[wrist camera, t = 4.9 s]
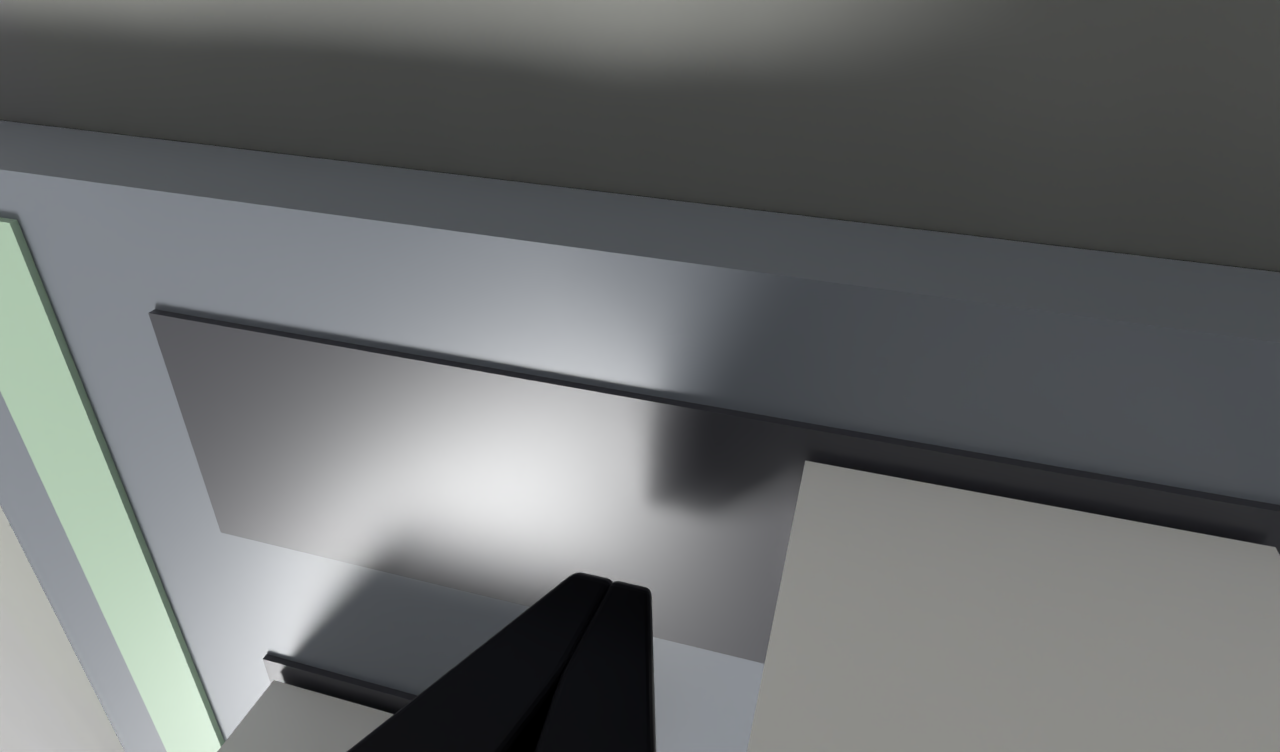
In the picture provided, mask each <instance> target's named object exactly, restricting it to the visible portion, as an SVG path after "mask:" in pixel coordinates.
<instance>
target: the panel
mask: <svg viewBox="0 0 1280 752" xmlns="http://www.w3.org/2000/svg"><path fill="white" fill-rule="evenodd" d="M805 461H810V462H816V463H821V464H827V465H832V466H838V467H843V468H848V469H854V470H859V471H865V472H870V473H875V474H881V475H886V476H892V477H897V478H903V479H908V480H913V481H919V482H924V483H930V484H935V485H941V486H946V487H951V488H957V489H962V490H968V491H973V492H979V493H984V494H989V495H995V496H1000V497H1006V498H1011V499H1017V500H1022V501H1027V502H1033V503H1038V504H1044V505H1049V506H1054V507H1060V508H1065V509H1071V510H1076V511H1082V512H1087V513H1092V514H1098V515H1103V516H1109V517H1114V518H1120V519H1125V520H1130V521H1136V522H1141V523H1147V524H1152V525H1158V526H1163V527H1168V528H1174V529H1179V530H1185V531H1190V532H1196V533H1201V534H1206V535H1212V536H1217V537H1223V538H1228V539H1233V540H1239V541H1244V542H1250V543H1255V544H1261V545H1266V546H1271V547H1276V549H1277V551H1278V553H1279V555H1280V272H1273V271H1264V270H1256V269H1247V268H1239V267H1230V266H1222V265H1214V264H1205V263H1197V262H1188V261H1180V260H1171V259H1163V258H1155V257H1146V256H1138V255H1129V254H1121V253H1113V252H1104V251H1096V250H1087V249H1079V248H1070V247H1062V246H1054V245H1045V244H1037V243H1028V242H1020V241H1011V240H1003V239H995V238H986V237H978V236H969V235H961V234H953V233H944V232H936V231H927V230H919V229H910V228H902V227H894V226H885V225H877V224H868V223H860V222H851V221H843V220H835V219H826V218H818V217H809V216H801V215H793V214H784V213H776V212H767V211H759V210H750V209H742V208H734V207H725V206H717V205H708V204H700V203H691V202H683V201H675V200H666V199H658V198H649V197H641V196H632V195H624V194H616V193H607V192H599V191H590V190H582V189H574V188H565V187H557V186H548V185H540V184H531V183H523V182H515V181H506V180H498V179H489V178H481V177H472V176H464V175H456V174H447V173H439V172H430V171H422V170H414V169H405V168H397V167H388V166H380V165H371V164H363V163H355V162H346V161H338V160H329V159H321V158H312V157H304V156H296V155H287V154H279V153H270V152H262V151H254V150H245V149H237V148H228V147H220V146H211V145H203V144H195V143H186V142H178V141H169V140H161V139H152V138H144V137H136V136H127V135H119V134H110V133H102V132H94V131H85V130H77V129H68V128H60V127H51V126H43V125H35V124H26V123H18V122H9V121H1V120H0V505H1V507H2V509H3V511H4V513H5V515H6V517H7V519H8V521H9V523H10V525H11V527H12V529H13V531H14V533H15V535H16V537H17V539H18V541H19V543H20V545H21V547H22V549H23V551H24V553H25V555H26V557H27V559H28V561H29V563H30V565H31V567H32V569H33V571H34V573H35V575H36V577H37V579H38V581H39V583H40V585H41V587H42V589H43V591H44V592H45V594H46V596H47V598H48V600H49V602H50V604H51V606H52V608H53V610H54V612H55V614H56V616H57V618H58V620H59V622H60V624H61V626H62V628H63V630H64V632H65V634H66V636H67V638H68V640H69V642H70V644H71V646H72V648H73V650H74V652H75V654H76V656H77V658H78V660H79V662H80V664H81V666H82V668H83V670H84V672H85V674H86V676H87V678H88V680H89V682H90V684H91V686H92V688H93V689H94V691H95V693H96V695H97V697H98V699H99V701H100V703H101V705H102V707H103V709H104V711H105V713H106V715H107V717H108V719H109V721H110V723H111V725H112V727H113V729H114V731H115V733H116V735H117V737H118V739H119V741H120V743H121V745H122V747H123V749H124V751H125V752H217V751H218V750H219V749H220V748H221V746H222V745H223V744H224V743H225V741H226V740H227V739H228V737H229V736H230V735H231V734H232V732H233V731H234V730H235V729H236V727H237V726H238V725H239V724H240V722H241V721H242V720H243V718H244V717H245V716H246V715H247V713H248V712H249V711H250V710H251V708H252V707H253V706H254V705H255V703H256V702H257V701H258V700H259V698H260V697H261V696H262V694H263V693H264V692H265V691H266V689H267V688H268V687H269V686H270V684H271V683H272V682H273V681H274V680H275V681H279V682H282V683H286V684H289V685H293V686H296V687H300V688H303V689H307V690H310V691H314V692H317V693H321V694H325V695H328V696H332V697H335V698H339V699H342V700H346V701H349V702H353V703H356V704H360V705H363V706H367V707H370V708H374V709H377V710H381V711H384V712H388V713H391V714H395V713H396V712H397V711H399V710H400V709H401V708H403V707H404V706H405V705H406V704H408V703H409V702H410V701H411V700H413V699H414V698H415V697H416V696H418V695H419V694H420V693H422V692H423V691H424V690H425V689H427V688H428V687H429V686H430V685H432V684H433V683H434V682H436V681H437V680H438V679H439V678H441V677H442V676H443V675H444V674H446V673H447V672H448V671H449V670H451V669H452V668H453V667H455V666H456V665H457V664H458V663H460V662H461V661H462V660H463V659H465V658H466V657H467V656H469V655H470V654H471V653H472V652H474V651H475V650H476V649H477V648H479V647H480V646H481V645H482V644H484V643H485V642H486V641H488V640H489V639H490V638H491V637H493V636H494V635H495V634H496V633H498V632H499V631H500V630H502V629H503V628H504V627H505V626H507V625H508V624H509V623H510V622H512V621H513V620H514V619H515V618H517V617H518V616H519V615H521V614H522V613H523V612H524V611H526V610H527V609H528V608H529V607H531V606H532V605H533V604H535V603H536V602H537V601H538V600H540V599H541V598H542V597H543V596H545V595H546V594H547V593H548V592H550V591H551V590H552V589H554V588H555V587H556V586H557V585H559V584H560V583H561V582H562V581H564V580H565V579H566V578H568V577H569V576H570V575H572V574H574V573H578V572H582V573H587V574H591V575H595V576H600V577H604V578H608V579H610V580H612V581H613V582H614V581H622V582H626V583H631V584H635V585H639V586H644V587H647V588H648V589H650V591H651V595H652V621H653V654H654V687H655V720H656V752H747V749H748V744H749V739H750V734H751V729H752V724H753V719H754V714H755V709H756V704H757V699H758V694H759V689H760V684H761V679H762V674H763V669H764V664H765V659H766V654H767V649H768V644H769V639H770V634H771V629H772V624H773V619H774V614H775V609H776V604H777V599H778V594H779V589H780V584H781V579H782V574H783V569H784V564H785V559H786V554H787V549H788V544H789V539H790V534H791V529H792V524H793V519H794V514H795V510H796V505H797V500H798V495H799V490H800V485H801V480H802V475H803V470H804V465H805Z"/></svg>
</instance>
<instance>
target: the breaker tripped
mask: <svg viewBox="0 0 1280 752" xmlns="http://www.w3.org/2000/svg"><path fill="white" fill-rule="evenodd" d="M747 752H1280V555H1279V553H1278V551H1277V549H1276V547H1271V546H1266V545H1261V544H1255V543H1250V542H1244V541H1239V540H1233V539H1228V538H1223V537H1217V536H1212V535H1206V534H1201V533H1196V532H1190V531H1185V530H1179V529H1174V528H1168V527H1163V526H1158V525H1152V524H1147V523H1141V522H1136V521H1130V520H1125V519H1120V518H1114V517H1109V516H1103V515H1098V514H1092V513H1087V512H1082V511H1076V510H1071V509H1065V508H1060V507H1054V506H1049V505H1044V504H1038V503H1033V502H1027V501H1022V500H1017V499H1011V498H1006V497H1000V496H995V495H989V494H984V493H979V492H973V491H968V490H962V489H957V488H951V487H946V486H941V485H935V484H930V483H924V482H919V481H913V480H908V479H903V478H897V477H892V476H886V475H881V474H875V473H870V472H865V471H859V470H854V469H848V468H843V467H838V466H832V465H827V464H821V463H816V462H810V461H805V465H804V470H803V475H802V480H801V485H800V490H799V495H798V500H797V505H796V510H795V514H794V519H793V524H792V529H791V534H790V539H789V544H788V549H787V554H786V559H785V564H784V569H783V574H782V579H781V584H780V589H779V594H778V599H777V604H776V609H775V614H774V619H773V624H772V629H771V634H770V639H769V644H768V649H767V654H766V659H765V664H764V669H763V674H762V679H761V684H760V689H759V694H758V699H757V704H756V709H755V714H754V719H753V724H752V729H751V734H750V739H749V744H748V749H747Z"/></svg>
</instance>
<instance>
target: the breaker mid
mask: <svg viewBox="0 0 1280 752" xmlns="http://www.w3.org/2000/svg"><path fill="white" fill-rule="evenodd" d="M392 715H394V714H391V713H388V712H384V711H381V710H377V709H374V708H370V707H367V706H363V705H360V704H356V703H353V702H349V701H346V700H342V699H339V698H335V697H332V696H328V695H325V694H321V693H317V692H314V691H310V690H307V689H303V688H300V687H296V686H293V685H289V684H286V683H282V682H279V681H275V680H274V681H273V682H272V683H271V684H270V686H269V687H268V688H267V689H266V691H265V692H264V693H263V694H262V696H261V697H260V698H259V700H258V701H257V702H256V703H255V705H254V706H253V707H252V708H251V710H250V711H249V712H248V713H247V715H246V716H245V717H244V718H243V720H242V721H241V722H240V724H239V725H238V726H237V727H236V729H235V730H234V731H233V732H232V734H231V735H230V736H229V737H228V739H227V740H226V741H225V743H224V744H223V745H222V746H221V748H220V749H219V750H218V751H217V752H347V751H348V750H349V749H351V748H352V747H353V746H354V745H356V744H357V743H358V742H359V741H361V740H362V739H363V738H364V737H366V736H367V735H368V734H370V733H371V732H372V731H373V730H375V729H376V728H377V727H378V726H380V725H381V724H382V723H384V722H385V721H386V720H387V719H389V718H390V717H391V716H392Z"/></svg>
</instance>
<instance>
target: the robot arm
mask: <svg viewBox="0 0 1280 752" xmlns="http://www.w3.org/2000/svg"><path fill="white" fill-rule="evenodd" d="M347 752H656V720H655V687H654V654H653V621H652V595H651V591H650V589H648V588H647V587H644V586H639V585H635V584H631V583H626V582H622V581H614V582H613V581H612V580H610V579H608V578H604V577H600V576H595V575H591V574H587V573H582V572H578V573H574V574H572V575H570V576H569V577H568V578H566V579H565V580H564V581H562V582H561V583H560V584H559V585H557V586H556V587H555V588H554V589H552V590H551V591H550V592H548V593H547V594H546V595H545V596H543V597H542V598H541V599H540V600H538V601H537V602H536V603H535V604H533V605H532V606H531V607H529V608H528V609H527V610H526V611H524V612H523V613H522V614H521V615H519V616H518V617H517V618H515V619H514V620H513V621H512V622H510V623H509V624H508V625H507V626H505V627H504V628H503V629H502V630H500V631H499V632H498V633H496V634H495V635H494V636H493V637H491V638H490V639H489V640H488V641H486V642H485V643H484V644H482V645H481V646H480V647H479V648H477V649H476V650H475V651H474V652H472V653H471V654H470V655H469V656H467V657H466V658H465V659H463V660H462V661H461V662H460V663H458V664H457V665H456V666H455V667H453V668H452V669H451V670H449V671H448V672H447V673H446V674H444V675H443V676H442V677H441V678H439V679H438V680H437V681H436V682H434V683H433V684H432V685H430V686H429V687H428V688H427V689H425V690H424V691H423V692H422V693H420V694H419V695H418V696H416V697H415V698H414V699H413V700H411V701H410V702H409V703H408V704H406V705H405V706H404V707H403V708H401V709H400V710H399V711H397V712H396V713H395V714H394V715H392V716H391V717H390V718H389V719H387V720H386V721H385V722H384V723H382V724H381V725H380V726H378V727H377V728H376V729H375V730H373V731H372V732H371V733H370V734H368V735H367V736H366V737H364V738H363V739H362V740H361V741H359V742H358V743H357V744H356V745H354V746H353V747H352V748H351V749H349V750H348V751H347Z"/></svg>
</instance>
